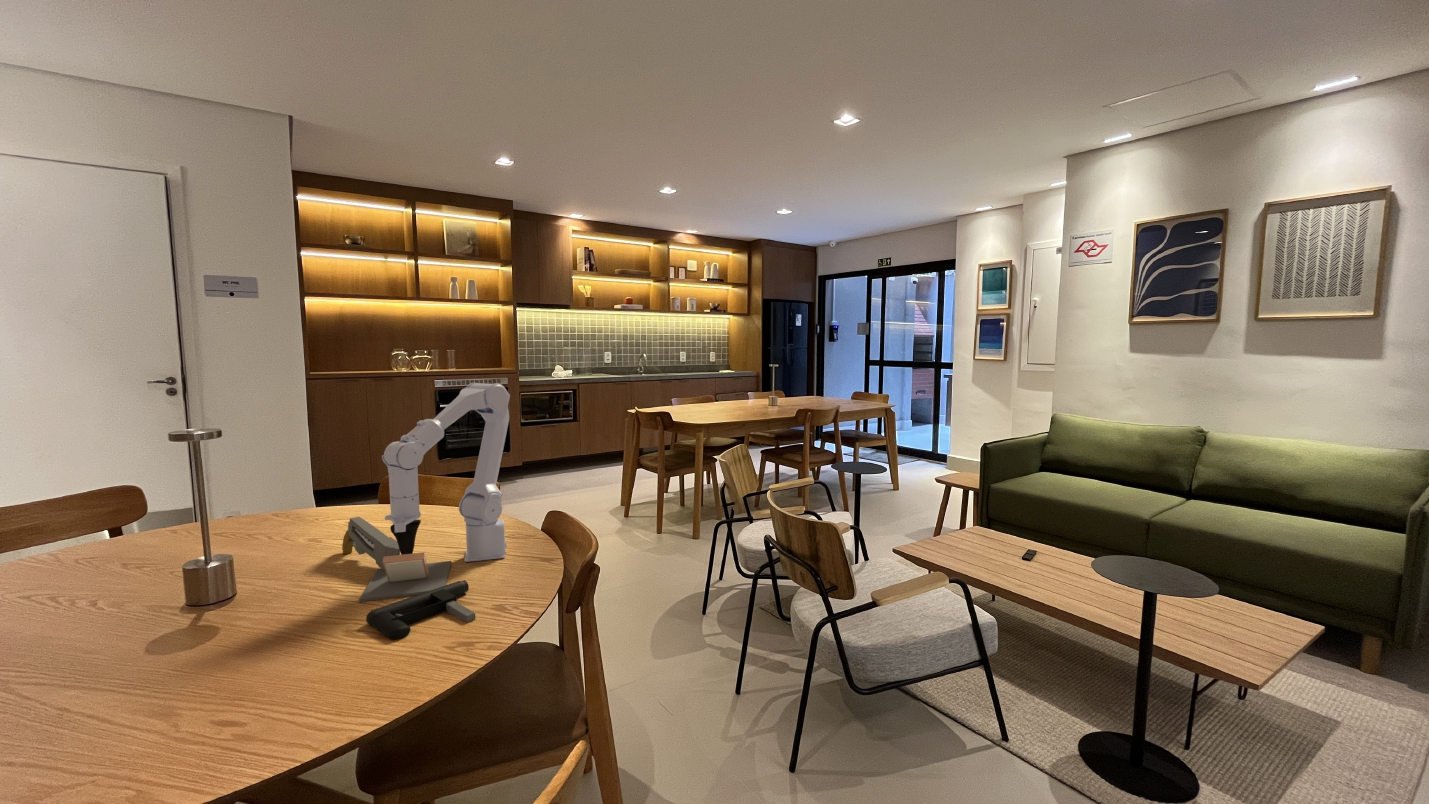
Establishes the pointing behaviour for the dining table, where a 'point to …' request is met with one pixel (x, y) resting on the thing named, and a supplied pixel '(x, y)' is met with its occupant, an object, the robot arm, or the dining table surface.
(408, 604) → the door handle
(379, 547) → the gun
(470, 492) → the robot arm
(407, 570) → the tile
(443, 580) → the mat
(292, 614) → the dining table surface
